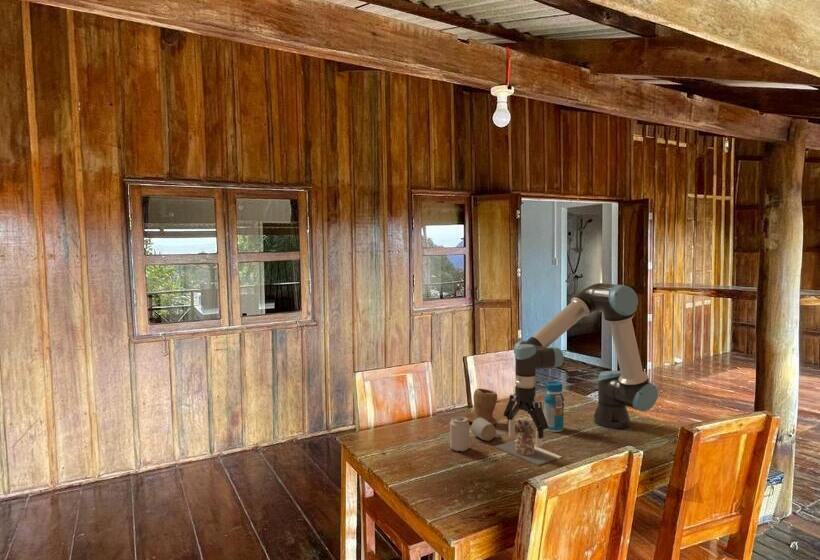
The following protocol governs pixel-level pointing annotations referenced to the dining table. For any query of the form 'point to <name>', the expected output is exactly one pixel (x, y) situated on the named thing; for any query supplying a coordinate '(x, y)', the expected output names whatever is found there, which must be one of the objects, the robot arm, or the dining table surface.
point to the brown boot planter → (483, 406)
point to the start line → (546, 452)
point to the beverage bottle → (554, 406)
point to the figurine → (524, 439)
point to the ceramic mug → (484, 429)
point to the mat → (535, 458)
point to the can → (459, 434)
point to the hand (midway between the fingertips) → (524, 441)
